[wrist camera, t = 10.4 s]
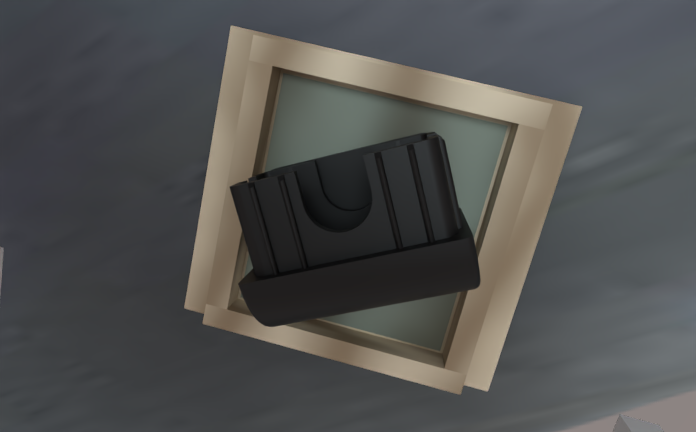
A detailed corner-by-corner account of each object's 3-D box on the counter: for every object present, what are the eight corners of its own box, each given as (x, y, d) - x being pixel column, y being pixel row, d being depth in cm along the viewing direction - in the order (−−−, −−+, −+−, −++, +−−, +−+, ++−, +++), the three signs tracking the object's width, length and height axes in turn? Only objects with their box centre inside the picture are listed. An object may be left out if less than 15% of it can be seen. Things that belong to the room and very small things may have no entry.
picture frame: (190, 303, 31) (170, 320, 28) (236, 27, 27) (218, 19, 25) (486, 383, 29) (492, 409, 27) (577, 106, 26) (594, 106, 23)
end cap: (291, 295, 29) (255, 351, 22) (257, 172, 27) (208, 193, 21) (470, 259, 27) (489, 309, 20) (442, 127, 26) (452, 135, 19)
